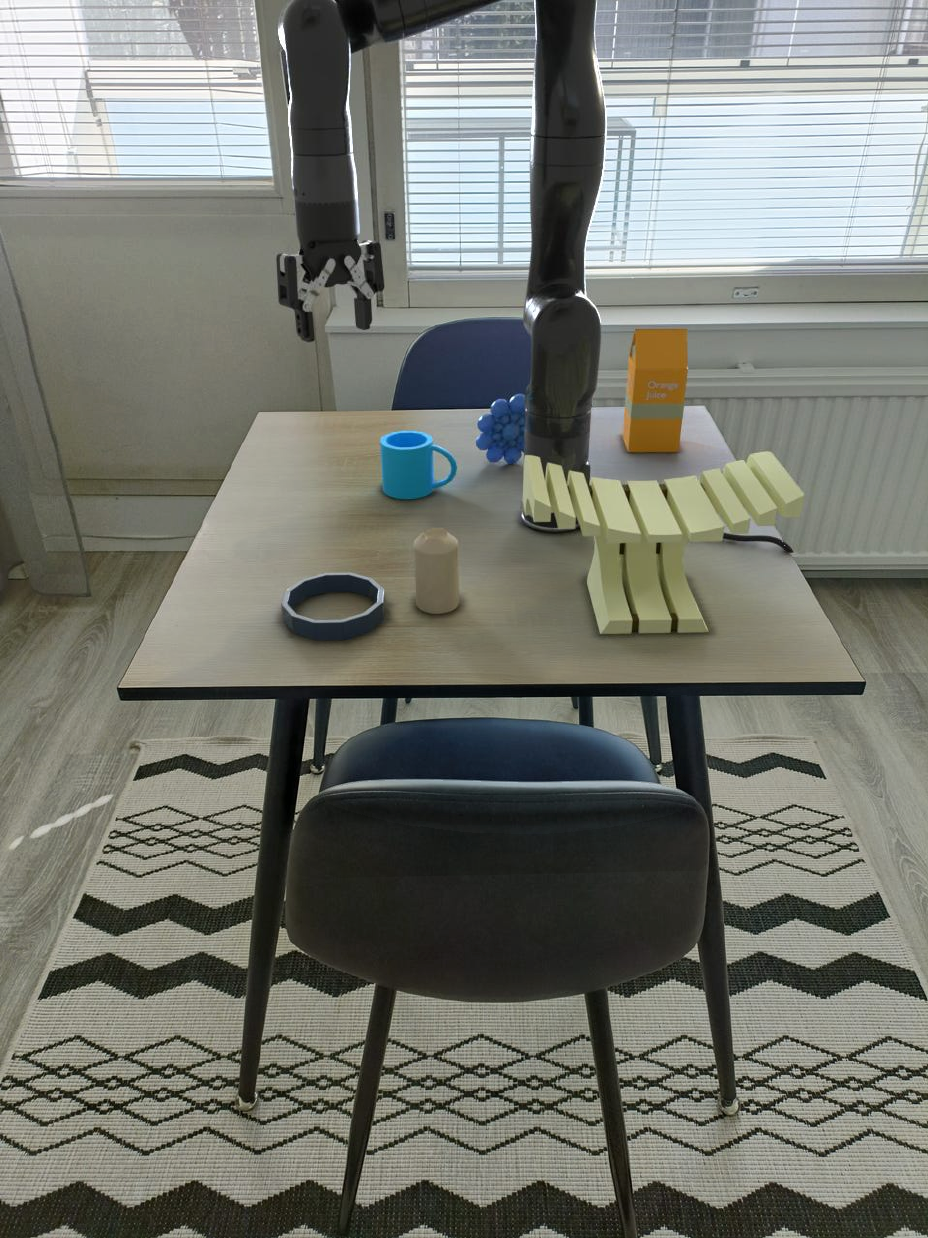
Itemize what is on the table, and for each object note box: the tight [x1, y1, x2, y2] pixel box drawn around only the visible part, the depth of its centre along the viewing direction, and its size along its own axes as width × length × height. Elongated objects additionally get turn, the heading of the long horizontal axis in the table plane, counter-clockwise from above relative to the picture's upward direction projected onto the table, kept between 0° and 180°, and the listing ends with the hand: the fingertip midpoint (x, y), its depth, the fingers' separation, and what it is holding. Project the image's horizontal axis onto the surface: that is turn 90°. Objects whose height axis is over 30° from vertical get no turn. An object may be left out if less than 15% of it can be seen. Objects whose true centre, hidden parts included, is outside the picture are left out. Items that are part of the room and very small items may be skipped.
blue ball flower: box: [475, 393, 525, 465], centre depth 159 cm, size 12×7×12 cm, turn 90°
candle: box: [413, 527, 460, 615], centre depth 119 cm, size 6×6×10 cm
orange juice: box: [622, 328, 689, 453], centre depth 163 cm, size 8×9×20 cm
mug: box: [379, 430, 458, 500], centre depth 150 cm, size 12×8×8 cm
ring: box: [280, 572, 386, 641], centre depth 119 cm, size 12×12×2 cm
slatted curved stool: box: [522, 451, 806, 635], centre depth 118 cm, size 30×16×18 cm, turn 91°
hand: (336, 334), depth 121 cm, fingers open, 8 cm apart
